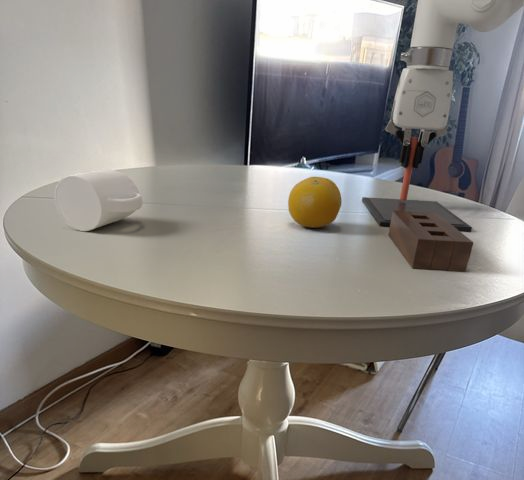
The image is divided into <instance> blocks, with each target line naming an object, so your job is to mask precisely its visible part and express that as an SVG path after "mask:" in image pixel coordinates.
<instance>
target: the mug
mask: <svg viewBox="0 0 524 480" xmlns="http://www.w3.org/2000/svg"><path fill="white" fill-rule="evenodd" d="M54 204H55V207H56V210H57V213H58V215H59V217H60V218H61V219H62V220H63V221H64V222H65V224H66V225H68V226H69V227H71V228H72V229H74V230H76V231H80V232H89V231H92V230H96V229H97V228H101V227H103V226H107V225H109V224H112V223H116V222H118V221H121V220H123V219H126V218H128V217H129V216H131V215H132V214H133V213H135V212H136V211H138V210H139V209H141V208H142V207H143V196H142V194H141V193H140V192H139V188H138V187H137V185H136V183H135V182H134V181H133V180H132V179H131V178H130V177H129V176H128V175H126V174H125V173H123V172H121V171H119V170H117V169H112V168H103V169H99V170H95V171H83V172H79V173H75V174H71V175H67V176H64V177H63V178H61V179H60V180H59V181H58V183H57V184H56V186H55V189H54Z"/></svg>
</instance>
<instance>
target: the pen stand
mask: <svg viewBox="0 0 524 480" xmlns="http://www.w3.org/2000/svg"><path fill="white" fill-rule="evenodd" d="M387 235H388V237H389V238H390V240H391V241H392V242H393V244H394V245H395V247H396V248H397V249H398V251H399V252H400V253H401V254H402V256H403V257H404V259H405V261H407V263H408V264H409V266H410V267H411V269H419V270H432V271H433V270H434V271H449V272H450V271H451V272H464V273H465V272H467V268H468V264H469V261H470V258H471V253H472V249H473V246H474V241H472V240H471V239H470V238H469V237H467V236H466V235H465V234H464V233H463V232H462V231H459V230H457V229H456V228H455V227H454V226H452V225H451V224H450V223H449V222H447V221H446V220H445V219H444V218H443V217H441V216H440V215H439V214H438V213H425V212H407V211H393V212H392V217H391V223H390V227H389V229H388V234H387Z"/></svg>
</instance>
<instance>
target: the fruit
mask: <svg viewBox="0 0 524 480" xmlns="http://www.w3.org/2000/svg"><path fill="white" fill-rule="evenodd" d="M342 204H343V203H342V194H341V191H340V189H339V187H338V186H337V185H336V183H335V182H334V181H333V180H332V179H329V178H326V177H323V176H310V177H307V178H305V179H303V180H301V181H299V182H297V183H296V184H295V185H294V186H293V188H292V189H291V190H290V192H289V195H288V201H287V205H288V206H287V208H288V211H289V215H290V217H291V218H292V219H293V220H294V222H296V223H297V224H298V225H300V226H301V227H304V228H309V229H319V228H322V227H323V228H324V227H326V226H328V225H331V224H332V223H333V222H334V221H335V220H336V219H337V217H338V215H339V213H340V210H341V208H342Z"/></svg>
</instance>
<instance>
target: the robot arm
mask: <svg viewBox="0 0 524 480" xmlns="http://www.w3.org/2000/svg"><path fill="white" fill-rule="evenodd" d="M522 7H524V0H417V5H416V10H415V16H414V23H413V28H412V35H411V39H410V40H411V41H410V47H409V48H408V50H407V51H404V52H400V58H399V59H400V61H401V62H402V61H403V62H404V63H406V67H405V68H403V69H402V71H401V75H400V77H399V79H398V83H397V87H396V91H395V95H394V99H393V103H392V108H391V113H390V118H389V120H388V122H387V124H386V126H385V132H387V133H389V134H391V135H393V136H395V138H397V139H398V141H399V142H400V144H401V148H400V153H399V160H398V162H399V163H400V166H401V168H403V169H405V168H407V167H408V164H409V158H410V153H411V146H410V140H411V137H412V136H411V135H412V129H413V130H420V132H419V136H418V142H417V147H416V153H415V158H414V163H413V168H414V169H418V168H419V164H422V162H423V158H424V157H423V156H424V151H425V148H426V147H427V146H428V144H430V142H432V141H433V140H434V139H436V138H439V137H443V136H446V135H447V133H448V131H447V125H448V121H449V117H450V116H449V115H450V110H451V103H452V96H453V95H452V94H453V85H454V71H453V70H450V65H451V60H452V55H453V50H454V46H455V41H456V35H457V30H458V26H459V24H461V25H466V26H469V27H470V28H471V29H472V30H474V31H475V32H478V33H487V32H491V31H493V30H496V29H497V28H499V27H500V26H501V25H502V24H504V23H505V22H506V21H508V20H509V19H510V18H511V17H512V16H513V15H515V13H517V12H518V11H520V9H521V8H522ZM397 127H398V128H397ZM399 128H400V129H399ZM431 130H432V131H431Z"/></svg>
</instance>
